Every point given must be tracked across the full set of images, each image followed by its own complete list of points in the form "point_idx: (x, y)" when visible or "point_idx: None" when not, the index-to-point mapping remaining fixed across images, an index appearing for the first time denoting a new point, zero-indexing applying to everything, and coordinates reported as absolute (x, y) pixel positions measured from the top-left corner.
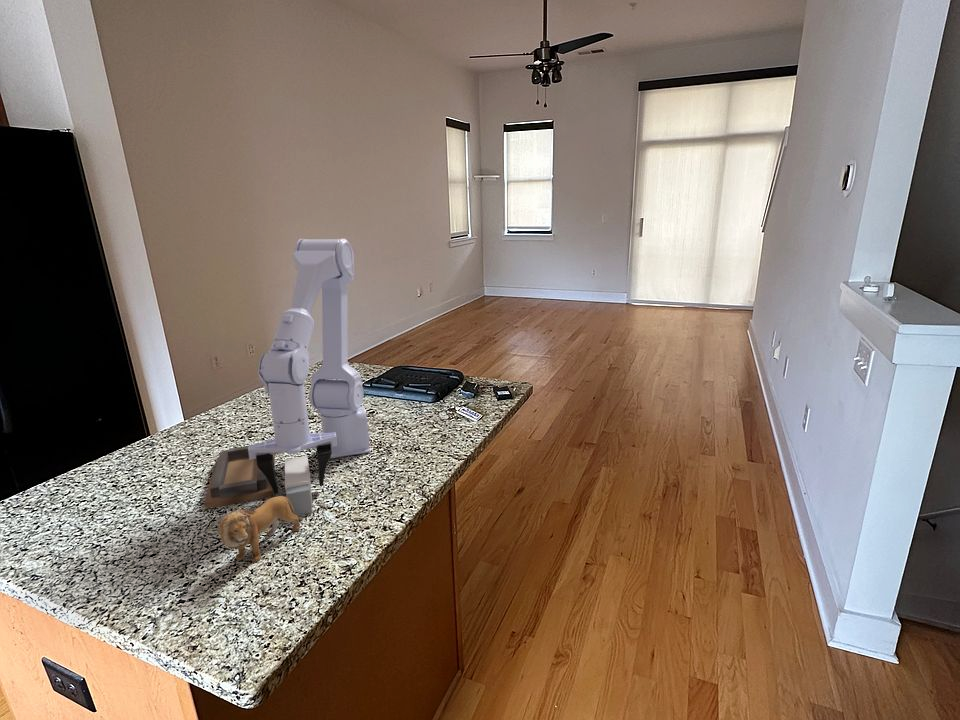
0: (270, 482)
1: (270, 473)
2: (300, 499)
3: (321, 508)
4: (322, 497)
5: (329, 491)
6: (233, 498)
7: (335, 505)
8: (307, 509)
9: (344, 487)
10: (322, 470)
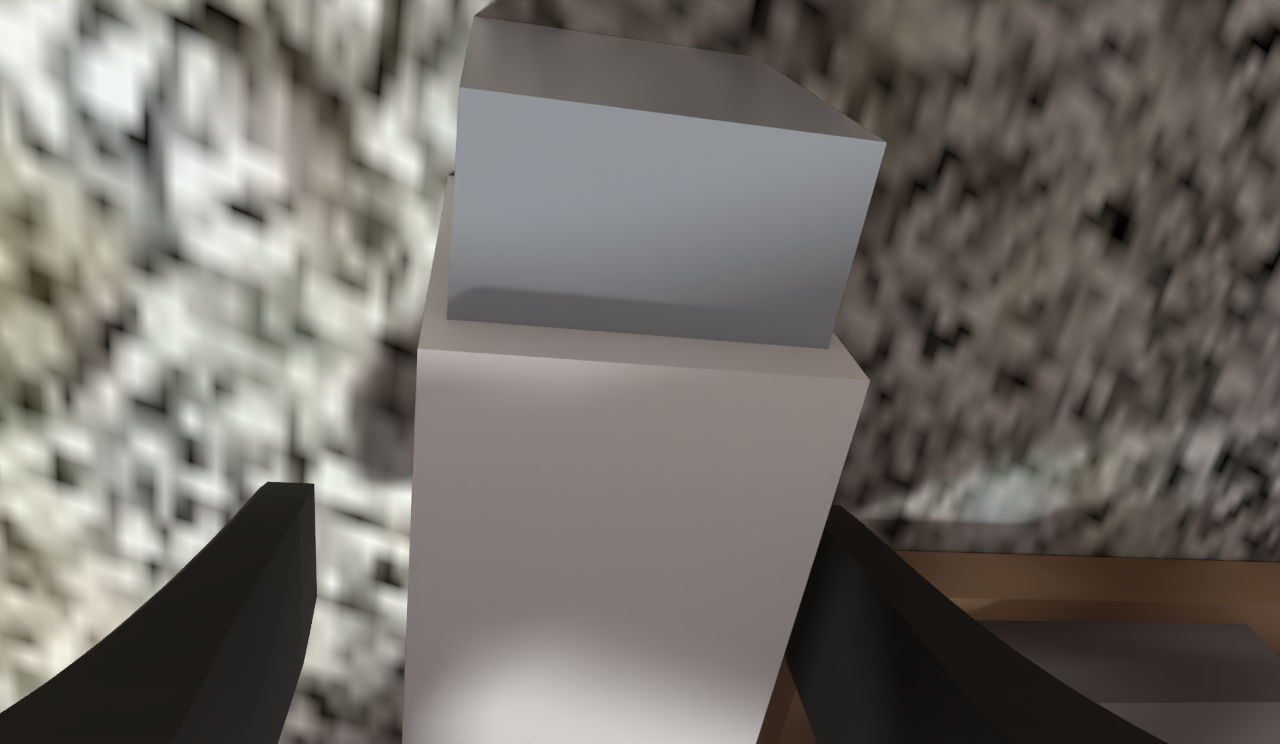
0: (951, 608)
1: (1025, 711)
2: (634, 78)
3: (340, 68)
4: (312, 331)
5: (218, 426)
6: (1154, 594)
7: (131, 48)
8: (533, 34)
9: (16, 441)
10: (165, 632)
